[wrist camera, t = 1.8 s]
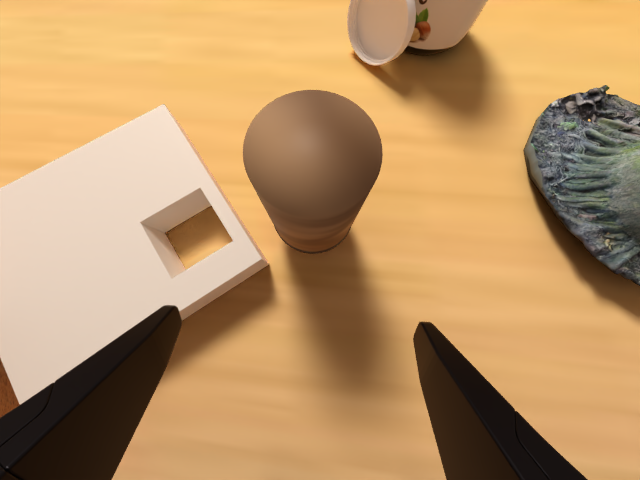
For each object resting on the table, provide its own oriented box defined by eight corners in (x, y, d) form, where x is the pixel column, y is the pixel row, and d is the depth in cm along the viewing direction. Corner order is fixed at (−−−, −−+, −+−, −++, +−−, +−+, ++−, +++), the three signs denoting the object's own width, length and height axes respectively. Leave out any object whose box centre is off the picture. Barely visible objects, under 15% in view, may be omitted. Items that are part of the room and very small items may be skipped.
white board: (69, 393, 21) (22, 411, 18) (-4, 229, 24) (-58, 217, 20) (269, 264, 24) (261, 258, 20) (183, 129, 26) (164, 103, 23)
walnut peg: (302, 272, 23) (291, 246, 11) (264, 213, 24) (215, 131, 12) (362, 233, 24) (411, 168, 12) (322, 178, 25) (331, 67, 13)
